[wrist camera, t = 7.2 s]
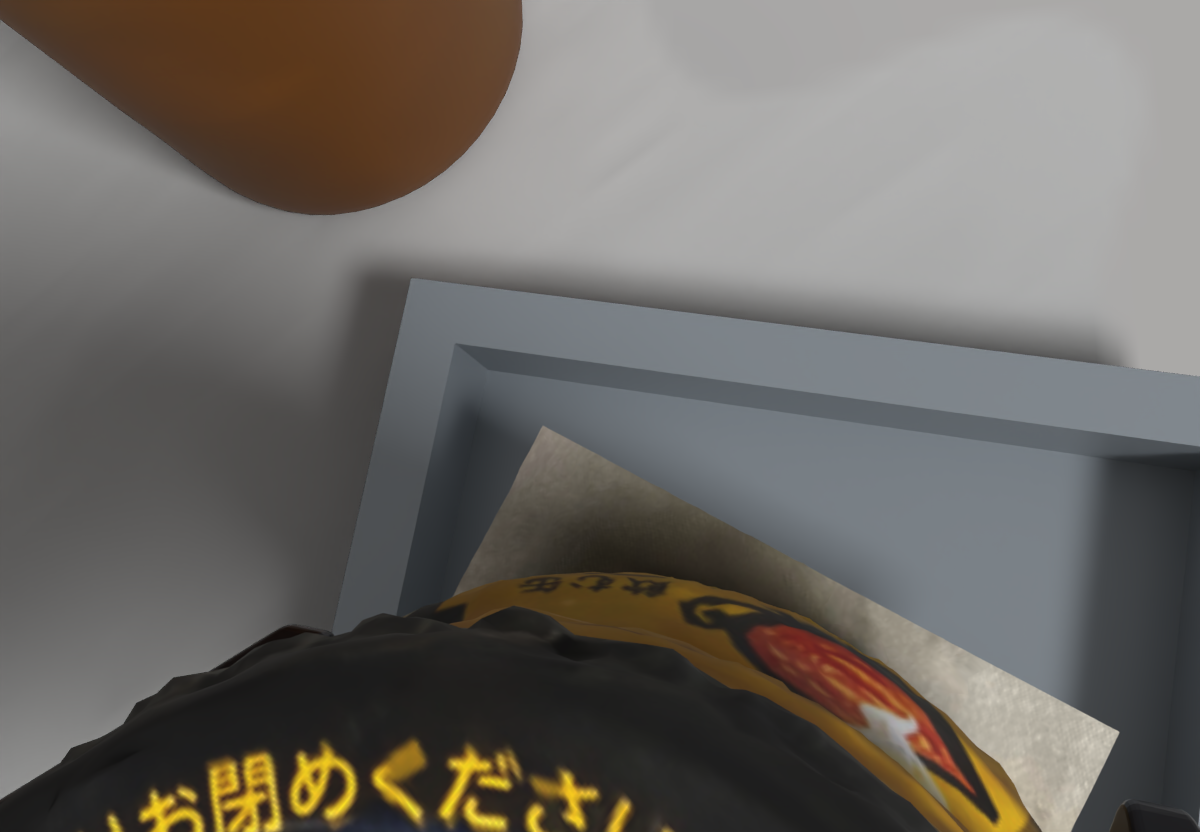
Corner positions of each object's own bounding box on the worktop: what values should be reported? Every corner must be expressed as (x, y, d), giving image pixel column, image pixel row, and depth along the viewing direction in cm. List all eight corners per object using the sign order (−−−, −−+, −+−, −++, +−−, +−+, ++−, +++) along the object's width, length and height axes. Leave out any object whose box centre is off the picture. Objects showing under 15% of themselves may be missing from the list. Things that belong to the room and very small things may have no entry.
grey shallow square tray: (1166, 1370, 16) (1227, 1501, 13) (295, 1093, 19) (213, 1159, 17) (1254, 427, 18) (1319, 392, 16) (461, 321, 21) (410, 277, 19)
